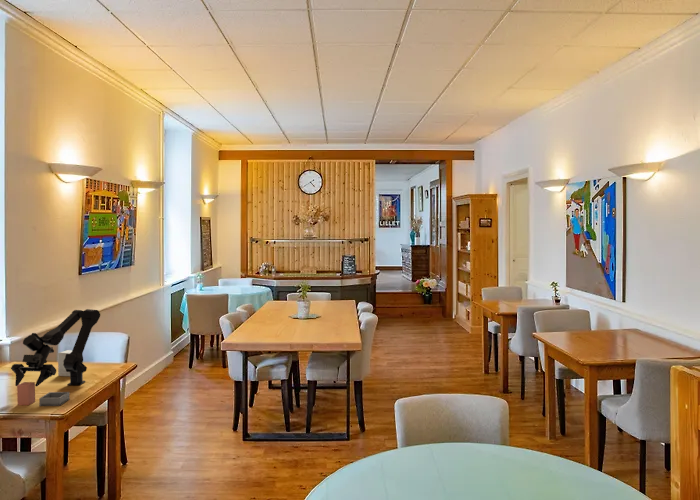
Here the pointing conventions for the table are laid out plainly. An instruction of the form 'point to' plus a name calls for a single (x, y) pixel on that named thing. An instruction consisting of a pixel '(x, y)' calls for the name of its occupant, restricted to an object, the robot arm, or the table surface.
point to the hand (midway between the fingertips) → (26, 385)
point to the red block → (26, 393)
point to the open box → (54, 399)
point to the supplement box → (60, 363)
